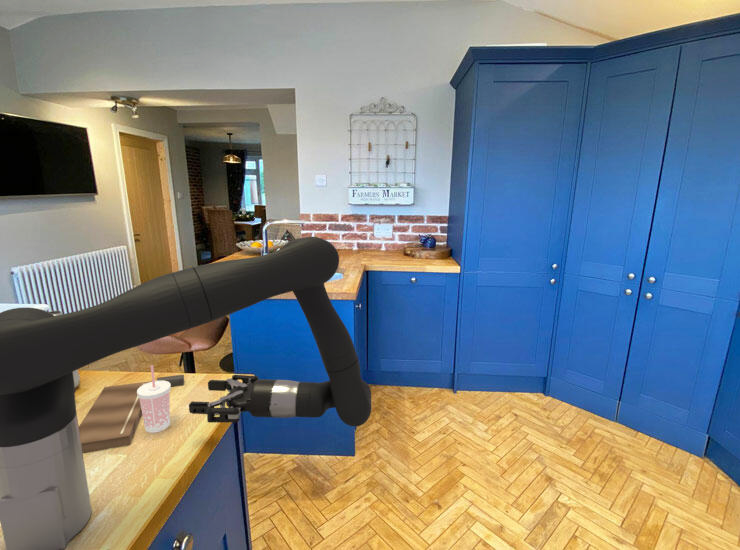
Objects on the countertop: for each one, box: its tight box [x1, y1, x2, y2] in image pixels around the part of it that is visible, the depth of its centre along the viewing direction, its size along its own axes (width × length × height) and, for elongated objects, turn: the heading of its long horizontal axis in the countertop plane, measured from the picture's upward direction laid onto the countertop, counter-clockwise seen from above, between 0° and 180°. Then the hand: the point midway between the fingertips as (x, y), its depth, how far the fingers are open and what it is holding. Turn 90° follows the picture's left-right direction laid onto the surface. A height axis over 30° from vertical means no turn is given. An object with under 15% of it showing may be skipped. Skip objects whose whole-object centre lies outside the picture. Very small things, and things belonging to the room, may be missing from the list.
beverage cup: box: [137, 364, 172, 433], centre depth 75 cm, size 6×6×14 cm
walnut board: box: [79, 374, 185, 453], centre depth 81 cm, size 24×17×2 cm
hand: (199, 395), depth 75 cm, fingers open, 8 cm apart
